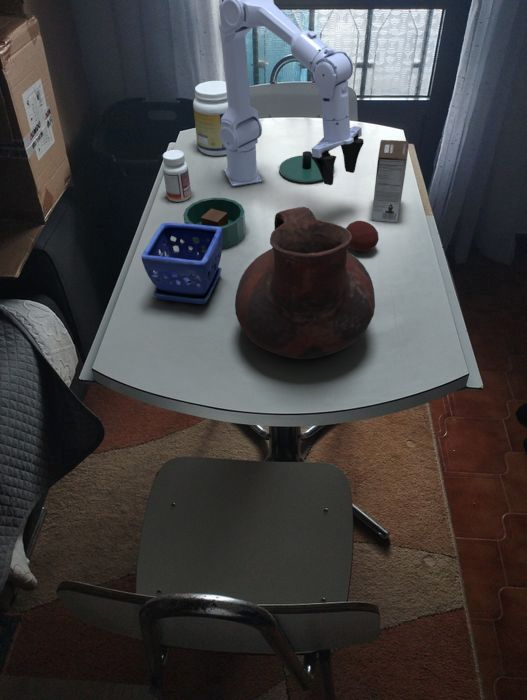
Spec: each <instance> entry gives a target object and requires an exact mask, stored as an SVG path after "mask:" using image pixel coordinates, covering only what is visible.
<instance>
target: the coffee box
mask: <svg viewBox="0 0 527 700" xmlns="http://www.w3.org/2000/svg"><path fill="white" fill-rule="evenodd" d="M409 143H410V142H409V140H398V139H397V140H395V139H381V140H380V143H379V149H378V154H377V155H378V157H377V165H376V173H375V182H374V191H373V202H372V212H371V221H375V222H376V221H377V222H389V223H399V218H400V212H401V211H400V209H401V204H402V197H403V191H404V183H405V177H406V170H407V163H408V154H409Z"/></svg>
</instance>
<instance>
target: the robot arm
mask: <svg viewBox="0 0 527 700" xmlns="http://www.w3.org/2000/svg"><path fill="white" fill-rule="evenodd" d="M219 16H220V27H219V32H220V40H221V49H222V60H223V69H224V79H225V80H224V81H225V82H226V90H227V100H228V109H227V110H226V112H225V113H224V115H223V116H222V118H221V129H220V138H221V141H222V143H223V145H224V146H225V147H226V152H227V154H226V164H227V168H224V170H223V171H224V173H225V175H226V177H227V180H228V181H229V184H230V185H231V187H239V186H240V187H241V186H245V185H250V184H257V183H261V182H262V181H263V180H262V178H261V176H260V175H259V173H258V166H257V163H258V162H257V144H258V143H259V142H258V141H259V140H258V139H259V138H260V137H261V136H262V132H263V127H262V123H261V121H260V117H259V111H258V110H257V109H256V108H255V107H253V106H251V93H250V82H249V79H250V78H249V67H248V56H247V55H248V54H247V43H246V41H247V40H246V36H247V35H248V34H249V33H250V32H251V30H252V29H253V28H258V27H264V28H265V29H267V30H268V31H269V32H271V33H272V34H273V35H275V36H276V37H278V38H279V39H280V40H282V41H283V42H284V43H285V44H287V45H288V46H290V53H291V56H292V57H293V58H295V60H297V61H298V62H299V63H300V64H302V65H303V66H304V67H305V68H306V69H307V70H308V71H310V72H311V73H312V78H313V81H314V83H315V85H316V87H317V89H318V96H320V103H321V116H322V117H321V118H322V131H323V137H322V138H321V139H320V140H319V142H318V143H316V144H315V145H314V146H312V147H311V153H312V154H311V157H312V159H313V161H314V162H315V163H316V165H317V167H318V169H319V171H320V173H321V176H322V179H323V180H322V182H323V184H324V185H327V186H332V185H334V172H333V170H334V171H335V163H336V160H337V156H336V155H332V154H331V153H330V151H332V150H334V149H336V148H338V147H340V148H341V151H342V157H343V163H344V170H345V172H346V173H349V174H354V173H355V171H356V166H357V162H358V158H359V154H360V152H361V149H362V147H363V145H364V144H365V143H364V141H365V140H364V139H363V138H361V137H362V136H363V133H362V130H363V129H362V127H361V126H355V125H354V126H352V127H351V123H350V122H351V121H350V120H351V119H350V99H349V80H350V79H351V78H352V76H353V74H354V73H353V72H354V64H353V61H352V59H351V57H350V56H349V55H348V53H347V52H346V51H343V50H338V51H337V50H335V49H333V48H332V47H331V46H328V45H327V44H326V43H325V42H324V41H323V40H322V39H320V38H319V37H318V36H317V35H318V33H316V32H315V31H314V30H309V29H308V30H303V31H301V29H300V28H299V27H297V25H295V23H294V22H293V21H292V20H291V19H290V18H289V17H288V16H287V15H286V14H285V13H284V12H283V11H282V10H281V9H280V8H279V7H278V6H277V5H276V4H275V1H274V0H223V1H221V3H220V4H219Z"/></svg>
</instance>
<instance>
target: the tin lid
mask: <svg viewBox="0 0 527 700" xmlns="http://www.w3.org/2000/svg"><path fill="white" fill-rule="evenodd" d="M311 154H312V151H310V150H306V151H303V152H302V155H296V156H295V155H294V156H292V157H289V158H286V159H285V160H283V161H282V162H281V163H280V164H279V167H278V169H279V173H280V174H281V175H282V177H284V178H285V179H287V180H290V181H293V182H296V183H297V182H298V183H316V182H321V181H323V179H322V176H321V173H320V171H319V169H318V167H317V165H316V163H315V162H314V161H313V159H312V157H311ZM334 172H335V169H334V170H333V173H334Z"/></svg>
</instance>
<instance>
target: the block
mask: <svg viewBox="0 0 527 700" xmlns="http://www.w3.org/2000/svg"><path fill="white" fill-rule="evenodd" d="M201 223H202V225H206V226H214V227H220V226H225V225H227V224H228V214H227V213H226V212H222V211H219V210H215V209H210V210H209V211H208V212H207V213H206V214H204V215H203V216H202V217H201Z"/></svg>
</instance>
